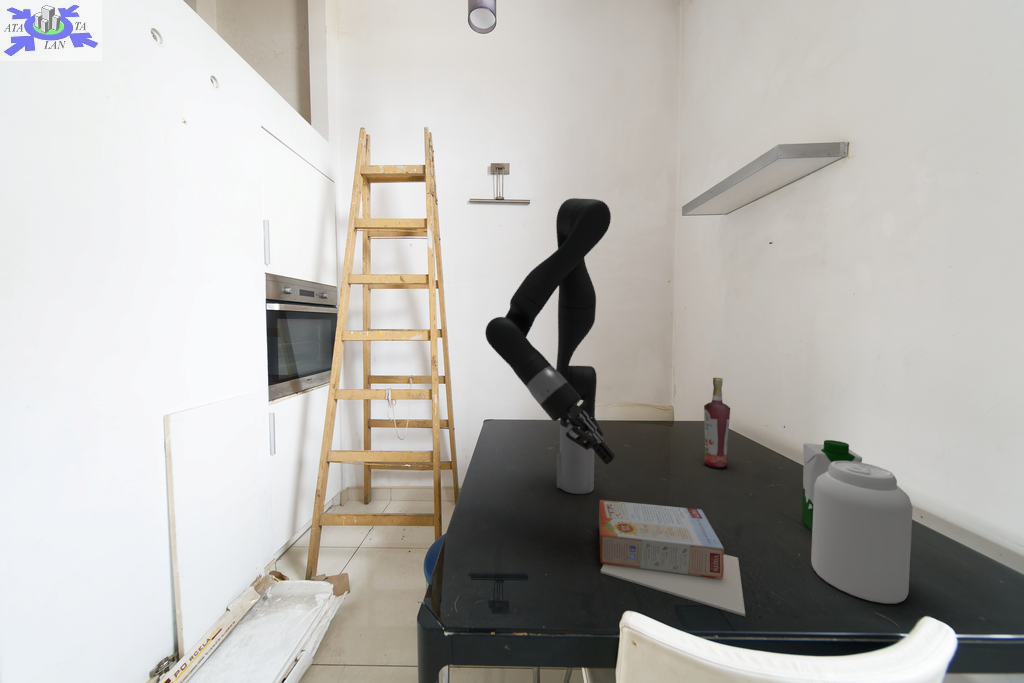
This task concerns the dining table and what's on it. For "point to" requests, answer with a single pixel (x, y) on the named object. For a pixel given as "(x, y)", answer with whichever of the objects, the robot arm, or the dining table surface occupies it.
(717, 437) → the liquor
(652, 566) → the cracker box
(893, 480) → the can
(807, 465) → the milk carton
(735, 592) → the mat
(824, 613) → the dining table surface
